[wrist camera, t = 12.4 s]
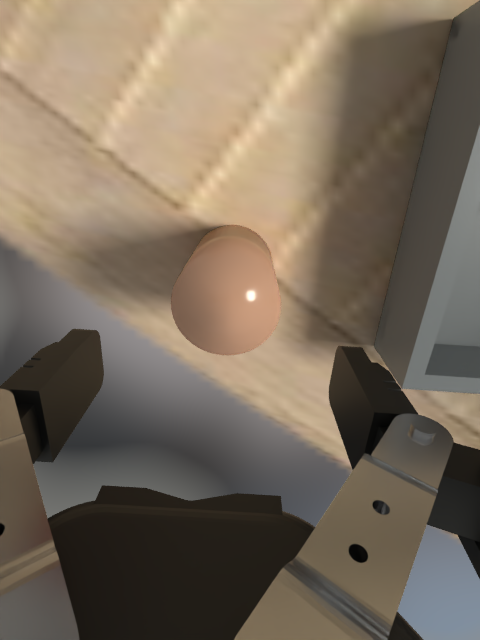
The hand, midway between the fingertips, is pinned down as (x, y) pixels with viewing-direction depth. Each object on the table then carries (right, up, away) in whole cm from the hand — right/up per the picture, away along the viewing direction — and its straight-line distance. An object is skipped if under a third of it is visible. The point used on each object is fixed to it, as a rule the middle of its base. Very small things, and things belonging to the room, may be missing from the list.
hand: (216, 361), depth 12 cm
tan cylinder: (0, +5, +10) cm, 12 cm away
